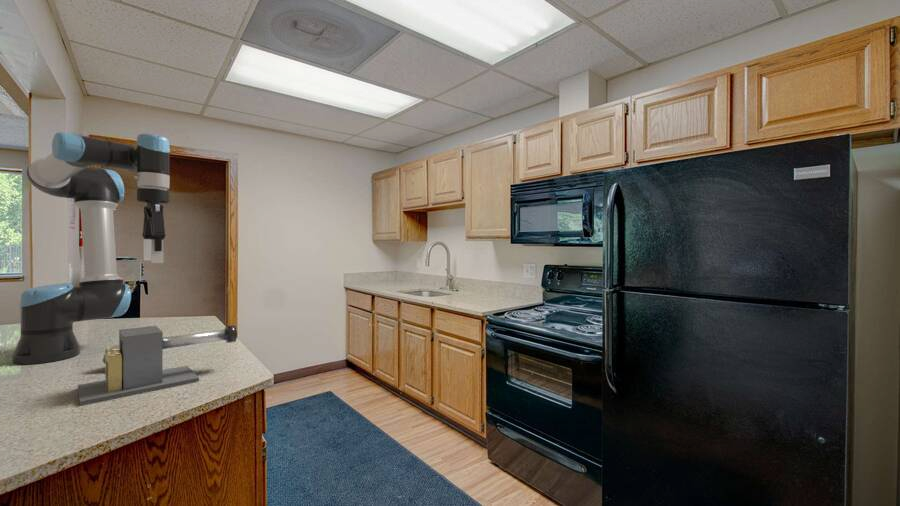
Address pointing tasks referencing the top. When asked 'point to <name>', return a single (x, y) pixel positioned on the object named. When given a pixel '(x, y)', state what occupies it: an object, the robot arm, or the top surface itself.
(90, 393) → the mat
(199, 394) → the top surface
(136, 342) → the bearing block
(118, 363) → the block
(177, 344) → the shaft
